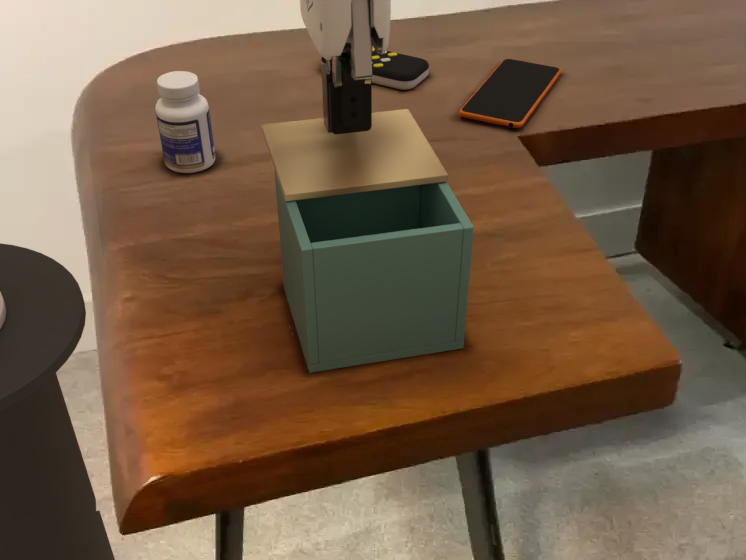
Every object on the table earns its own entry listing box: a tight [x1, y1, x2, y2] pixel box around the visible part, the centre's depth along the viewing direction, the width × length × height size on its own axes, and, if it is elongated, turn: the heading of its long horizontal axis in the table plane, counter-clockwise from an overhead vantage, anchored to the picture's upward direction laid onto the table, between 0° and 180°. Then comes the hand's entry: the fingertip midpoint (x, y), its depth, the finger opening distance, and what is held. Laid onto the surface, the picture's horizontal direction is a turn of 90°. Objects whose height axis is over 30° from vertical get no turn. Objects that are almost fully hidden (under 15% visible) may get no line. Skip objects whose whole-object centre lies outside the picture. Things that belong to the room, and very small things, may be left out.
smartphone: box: [458, 58, 562, 129], centre depth 107 cm, size 8×17×1 cm, turn 156°
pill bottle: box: [154, 70, 217, 174], centre depth 92 cm, size 5×5×9 cm
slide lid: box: [260, 64, 449, 201], centre depth 71 cm, size 13×12×6 cm
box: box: [274, 170, 475, 373], centre depth 72 cm, size 13×12×11 cm
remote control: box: [320, 46, 430, 91], centre depth 111 cm, size 6×13×2 cm, turn 62°
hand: (349, 127), depth 72 cm, fingers closed
